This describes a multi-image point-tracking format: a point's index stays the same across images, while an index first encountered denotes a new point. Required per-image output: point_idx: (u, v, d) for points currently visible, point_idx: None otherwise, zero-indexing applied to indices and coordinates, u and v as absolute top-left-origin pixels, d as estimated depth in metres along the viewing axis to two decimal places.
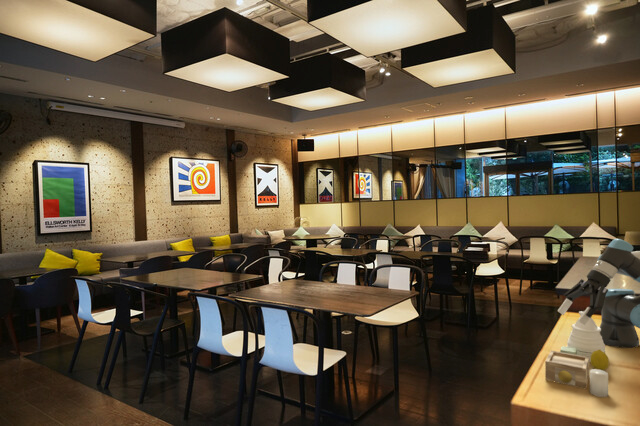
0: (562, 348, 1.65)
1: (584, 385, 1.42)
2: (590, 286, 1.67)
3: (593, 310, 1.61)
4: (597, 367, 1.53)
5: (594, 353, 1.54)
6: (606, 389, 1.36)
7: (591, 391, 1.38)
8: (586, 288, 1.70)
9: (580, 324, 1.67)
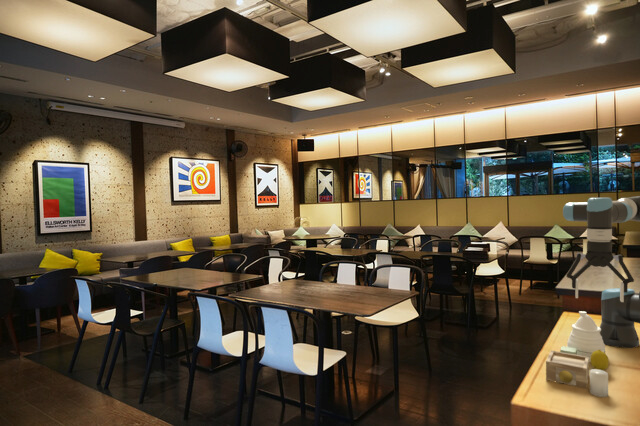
0: (562, 348, 1.65)
1: (585, 385, 1.42)
2: (605, 260, 1.50)
3: None
4: (597, 367, 1.53)
5: (594, 353, 1.54)
6: (606, 389, 1.36)
7: (591, 391, 1.38)
8: (596, 262, 1.52)
9: (580, 324, 1.67)
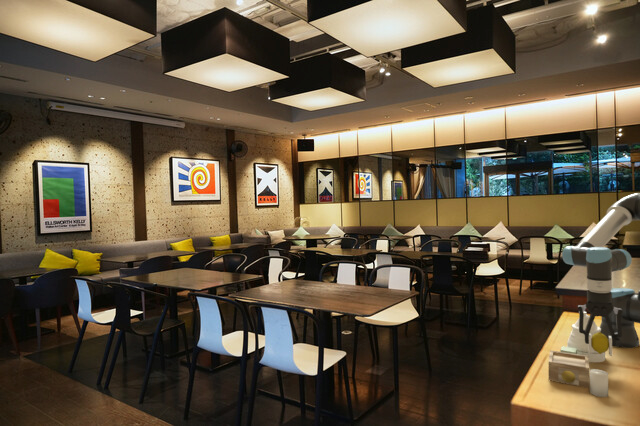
0: (562, 348, 1.65)
1: (588, 384, 1.42)
2: (605, 311, 1.51)
3: (615, 338, 1.52)
4: (597, 349, 1.53)
5: (594, 336, 1.54)
6: (606, 389, 1.36)
7: (591, 391, 1.38)
8: (597, 312, 1.53)
9: None
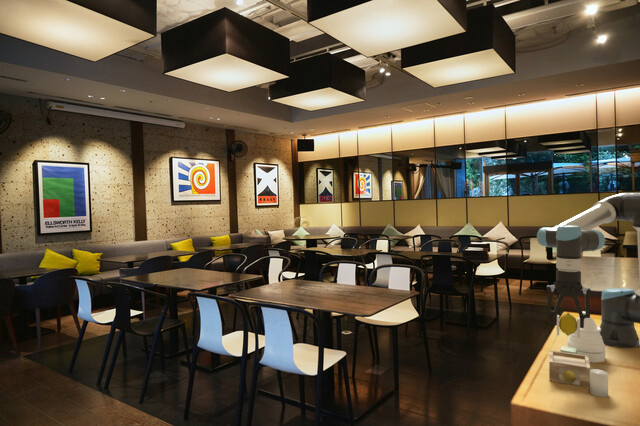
0: (562, 348, 1.65)
1: (588, 384, 1.42)
2: (573, 291, 1.46)
3: (583, 319, 1.47)
4: (565, 331, 1.48)
5: (562, 316, 1.50)
6: (606, 389, 1.36)
7: (591, 391, 1.38)
8: (565, 292, 1.48)
9: None
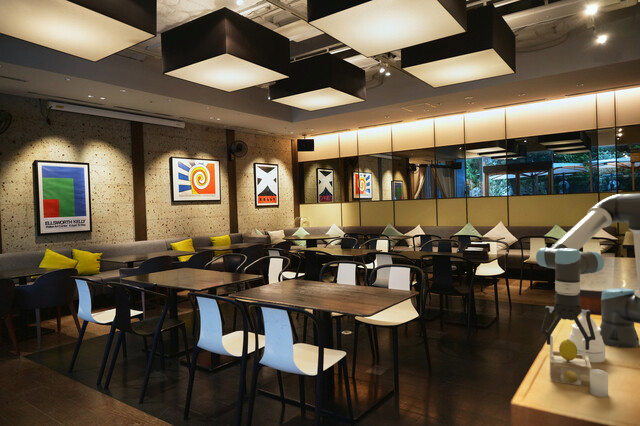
0: None
1: None
2: (572, 314, 1.47)
3: None
4: (565, 357, 1.49)
5: (562, 343, 1.50)
6: (606, 389, 1.36)
7: (591, 391, 1.38)
8: (565, 315, 1.48)
9: None
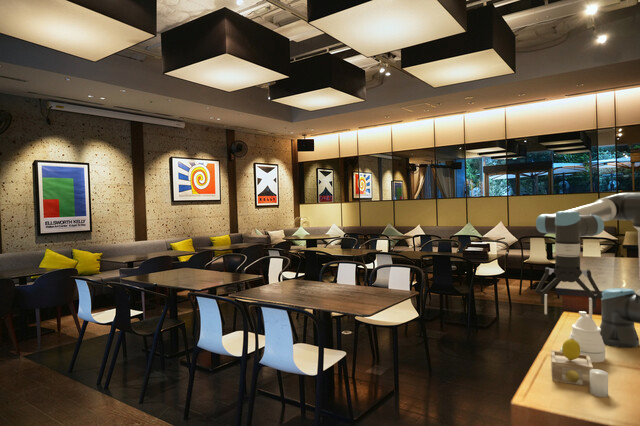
0: None
1: None
2: (573, 275, 1.46)
3: (596, 299, 1.45)
4: (567, 355, 1.49)
5: (566, 341, 1.50)
6: (606, 389, 1.36)
7: (591, 391, 1.38)
8: (565, 278, 1.48)
9: (580, 324, 1.67)
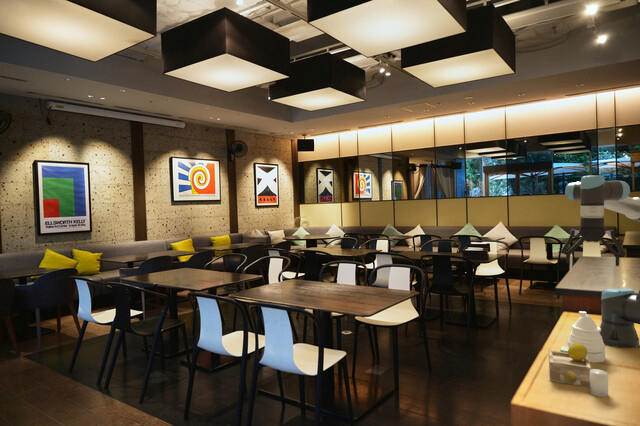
0: (562, 348, 1.65)
1: (589, 384, 1.43)
2: (597, 235, 1.57)
3: (619, 257, 1.55)
4: (576, 348, 1.49)
5: None
6: (606, 389, 1.36)
7: (591, 391, 1.38)
8: (589, 238, 1.59)
9: (580, 324, 1.67)
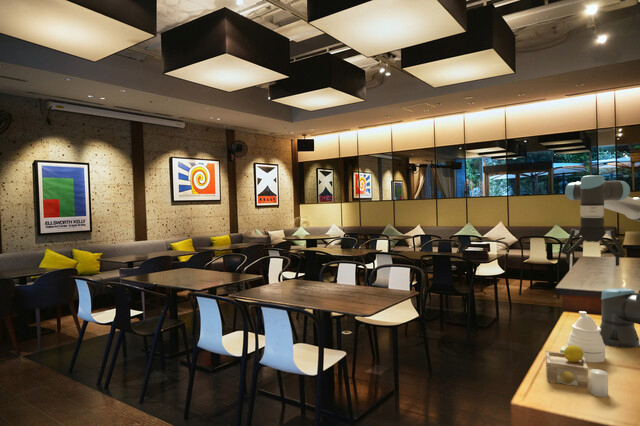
0: (562, 348, 1.65)
1: (586, 384, 1.42)
2: (597, 235, 1.57)
3: None
4: (573, 349, 1.48)
5: None
6: (606, 389, 1.36)
7: (591, 391, 1.38)
8: (589, 238, 1.59)
9: (580, 324, 1.67)
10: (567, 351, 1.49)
